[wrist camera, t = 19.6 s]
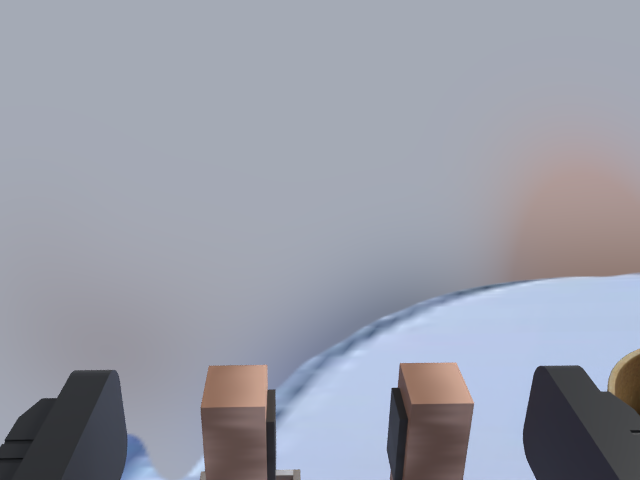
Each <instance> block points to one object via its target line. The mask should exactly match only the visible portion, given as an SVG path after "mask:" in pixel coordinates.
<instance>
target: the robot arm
mask: <svg viewBox="0 0 640 480" xmlns="http://www.w3.org/2000/svg"><path fill="white" fill-rule="evenodd" d="M523 444H524V450H525V455H526V458H527V461H528V463H529V465H530V467H531V469H532V471H533V473H534V476H535V478H536V480H640V416H639V414H638V413H637V412H636V411H635V410H634V409H633V408H632V407H630V406H629V405H628V404H626V403H625V402H623V401H622V400H621V399H619V398H618V397H616V396H615V395H613V394H612V393H611V392H600V390H599V389H598V388H597V386H596V385H595V384H594V383H593V381H592V380H591V379H590V377H589V376H588V375H587V373H586V372H585V371H584V369H583V368H581V367H580V366H539V367H537V369H536V370H535V373H534V376H533V381H532V386H531V391H530V397H529V402H528V407H527V412H526V418H525V423H524V429H523ZM126 455H127V430H126V424H125V416H124V409H123V401H122V394H121V387H120V381H119V376H118V373H117V372H116V371H115V370H84V371H83V370H80V371H79V370H78V371H73V372H72V373H71V374H70V376H69V378H68V380H67V382H66V384H65V385H64V387H63V389H62V390H61V392H60V394H59V396H58V398H49V399H48V398H44V399H41V400H40V401H39V402H37V403H36V404H35V405H33V406H32V407H31V408H30V409H29V410H27V411H26V412H25V413H24V414H22V415H21V416H20V417H19V418H18V420H17V421H16V423H15V424H14V426H13V428H12V429H11V431H10V432H9V434H8V436H7V437H6V439H5V443H4V444H2V445H1V447H0V480H120V479H121V476H122V473H123V470H124V466H125V462H126Z"/></svg>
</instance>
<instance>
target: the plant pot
mask: <svg viewBox="0 0 640 480" xmlns="http://www.w3.org/2000/svg"><path fill="white" fill-rule="evenodd" d="M607 392H611V393H612V394H613V395H615V396H616V397H618V398H619V399H621V400H622V401H623V402H625V403H626V404H628V405H629V406H630V407H632V408H633V409H634V410H635V411H636V412H637V413H638V414H639V416H640V349H638V350H636V351H633V352H631V353H629V354H628V355H626V356H625V357H623V358H622V359H621V360H620V361H619V362H618V363H617V364H616V365H615V367H614V368H613V370H612V371H611V374H610V376H609V381H608V389H607Z"/></svg>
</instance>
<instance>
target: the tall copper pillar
mask: <svg viewBox="0 0 640 480" xmlns="http://www.w3.org/2000/svg"><path fill="white" fill-rule="evenodd" d="M201 420H202V434H203V447H204V461H205V475H206V480H276V400H275V390H268V382H267V365H231V366H209V368H208V373H207V378H206V383H205V388H204V394H203V398H202V404H201Z"/></svg>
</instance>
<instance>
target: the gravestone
mask: <svg viewBox="0 0 640 480" xmlns="http://www.w3.org/2000/svg"><path fill="white" fill-rule="evenodd" d="M473 407H474V402H473V400H472V397H471V395H470V393H469V390H468V388H467V386H466V384H465V381H464V379H463V377H462V375H461V372H460V370H459V368H458V365H457V363H400V368H399V380H398V388H392V391H391V403H390V416H389V428H388V440H387V453H388V458H389V463H390V468H391V474H390V480H463V475H464V468H465V462H466V455H467V448H468V441H469V435H470V428H471V421H472V414H473ZM200 480H206V475H205V472H201V476H200ZM276 480H300V470H276Z"/></svg>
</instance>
